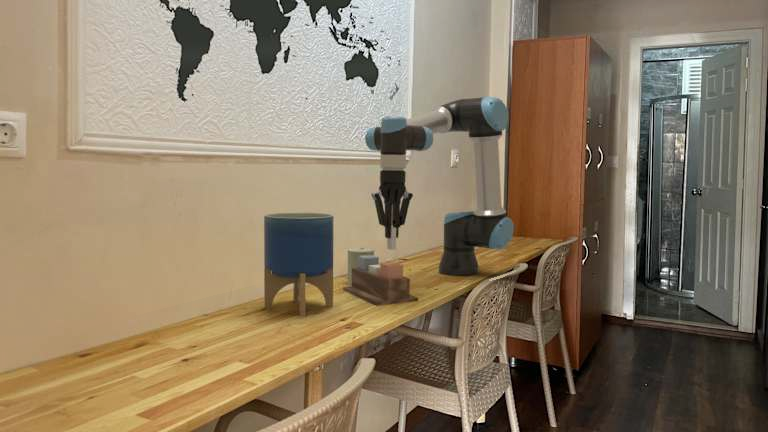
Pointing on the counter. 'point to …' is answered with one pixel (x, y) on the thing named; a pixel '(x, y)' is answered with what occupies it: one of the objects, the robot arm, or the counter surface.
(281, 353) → the counter surface
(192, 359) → the counter surface
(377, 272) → the key white
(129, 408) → the counter surface
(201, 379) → the counter surface
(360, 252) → the can
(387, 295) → the brown block holder tray
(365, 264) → the grey square block
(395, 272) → the key terracotta
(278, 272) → the planter
